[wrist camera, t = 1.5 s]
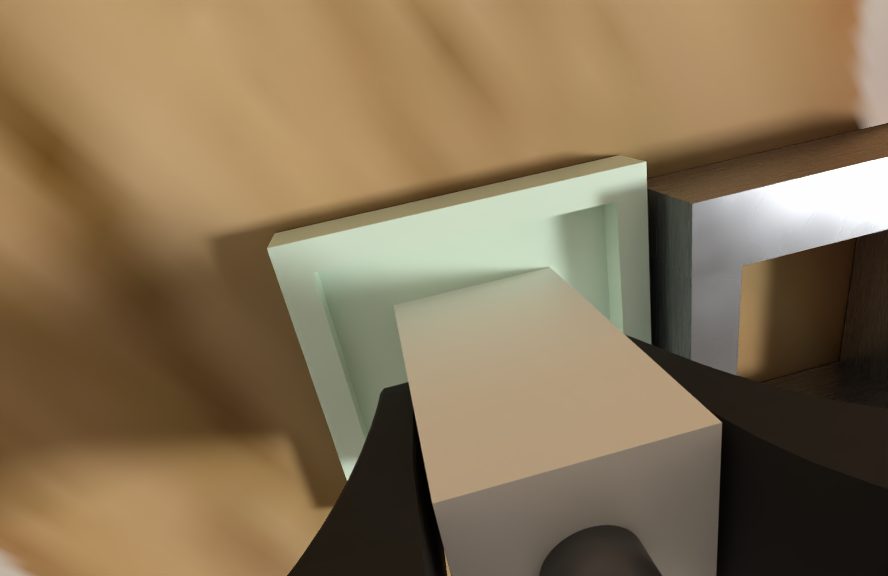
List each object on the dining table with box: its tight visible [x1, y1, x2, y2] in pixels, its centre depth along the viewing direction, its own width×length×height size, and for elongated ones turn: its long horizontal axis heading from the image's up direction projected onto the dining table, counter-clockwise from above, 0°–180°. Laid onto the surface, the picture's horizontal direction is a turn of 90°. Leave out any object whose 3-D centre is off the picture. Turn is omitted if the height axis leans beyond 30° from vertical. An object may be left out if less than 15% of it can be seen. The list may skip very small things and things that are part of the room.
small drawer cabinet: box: [647, 123, 888, 409], centre depth 15 cm, size 18×8×3 cm, turn 10°
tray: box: [267, 155, 651, 481], centre depth 13 cm, size 8×8×1 cm
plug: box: [393, 267, 722, 576], centre depth 10 cm, size 4×4×7 cm
